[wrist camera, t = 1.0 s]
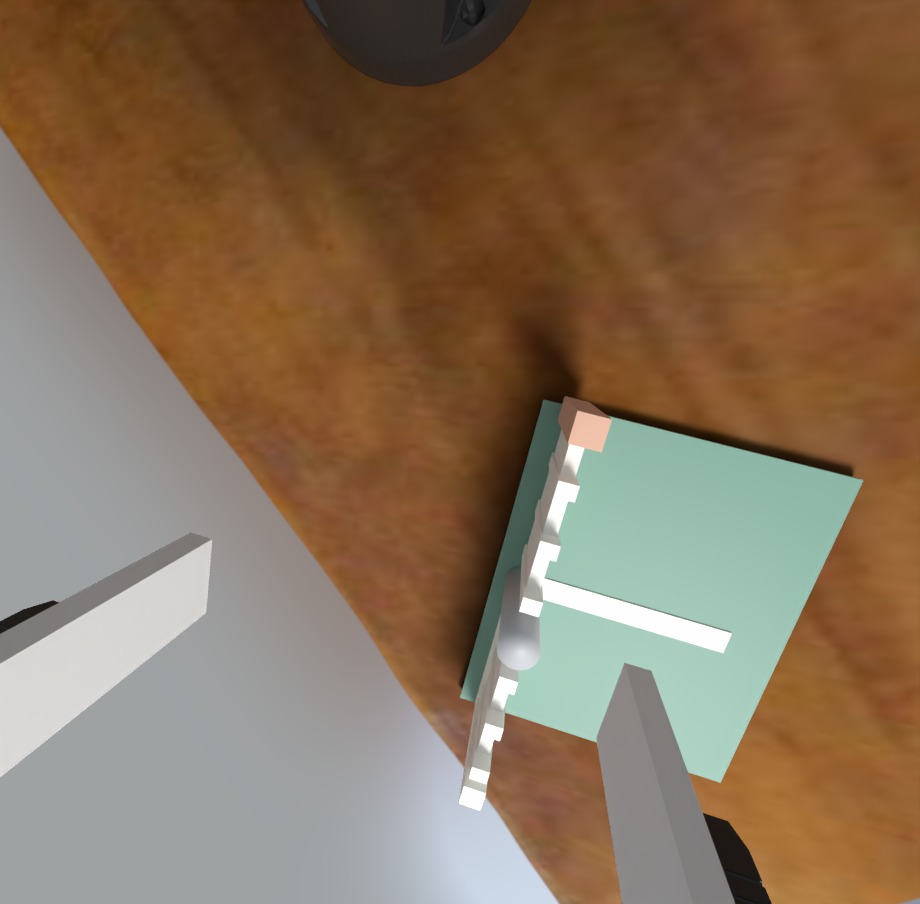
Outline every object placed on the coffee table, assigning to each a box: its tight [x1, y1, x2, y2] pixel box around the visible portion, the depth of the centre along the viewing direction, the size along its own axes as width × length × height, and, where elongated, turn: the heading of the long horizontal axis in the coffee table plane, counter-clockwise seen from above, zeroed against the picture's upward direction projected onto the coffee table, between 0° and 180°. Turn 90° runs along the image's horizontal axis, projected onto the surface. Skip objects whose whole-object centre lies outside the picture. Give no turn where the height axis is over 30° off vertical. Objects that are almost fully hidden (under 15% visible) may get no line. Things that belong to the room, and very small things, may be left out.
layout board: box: [460, 399, 863, 783], centre depth 31 cm, size 24×20×1 cm
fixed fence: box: [459, 566, 541, 811], centre depth 30 cm, size 13×2×8 cm, turn 167°
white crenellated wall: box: [519, 396, 612, 617], centre depth 26 cm, size 12×2×8 cm, turn 167°
